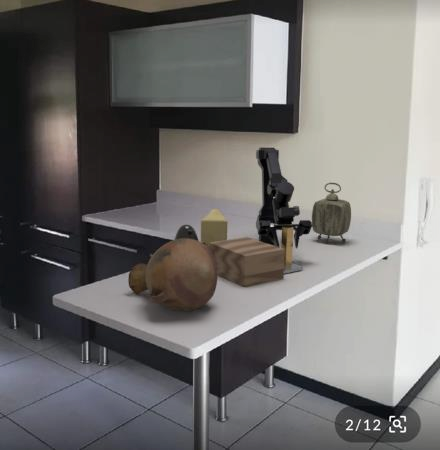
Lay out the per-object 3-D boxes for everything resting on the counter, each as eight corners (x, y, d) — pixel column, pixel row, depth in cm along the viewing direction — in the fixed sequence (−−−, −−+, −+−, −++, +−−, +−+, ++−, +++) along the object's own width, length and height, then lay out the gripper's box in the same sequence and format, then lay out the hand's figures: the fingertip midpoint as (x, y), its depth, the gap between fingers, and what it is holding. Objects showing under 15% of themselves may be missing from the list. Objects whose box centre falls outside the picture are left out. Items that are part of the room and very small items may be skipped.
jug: (230, 312, 152) (165, 302, 174) (234, 240, 153) (168, 239, 175) (171, 315, 139) (108, 303, 161) (175, 236, 140) (112, 235, 162)
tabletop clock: (349, 242, 234) (353, 183, 229) (342, 246, 226) (346, 185, 221) (316, 238, 241) (319, 180, 236) (308, 242, 233) (312, 182, 228)
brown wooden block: (208, 271, 190) (209, 242, 188) (246, 264, 199) (246, 236, 197) (244, 287, 174) (245, 255, 172) (283, 278, 183) (284, 249, 181)
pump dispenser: (178, 273, 187) (178, 228, 184) (166, 265, 196) (166, 222, 193) (206, 269, 192) (206, 226, 189) (193, 262, 201) (193, 220, 198)
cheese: (203, 244, 227) (203, 207, 224) (227, 244, 227) (227, 208, 224) (200, 258, 206) (200, 218, 203) (226, 259, 206) (227, 219, 202)
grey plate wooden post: (242, 282, 178) (244, 239, 175) (219, 272, 188) (220, 231, 185) (303, 269, 192) (305, 229, 189) (278, 260, 203) (279, 223, 200)
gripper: (259, 197, 194) (265, 236, 186) (312, 197, 196) (319, 235, 188) (255, 215, 203) (259, 252, 195) (305, 215, 206) (311, 252, 197)
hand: (287, 248), depth 194 cm, fingers open, 6 cm apart
